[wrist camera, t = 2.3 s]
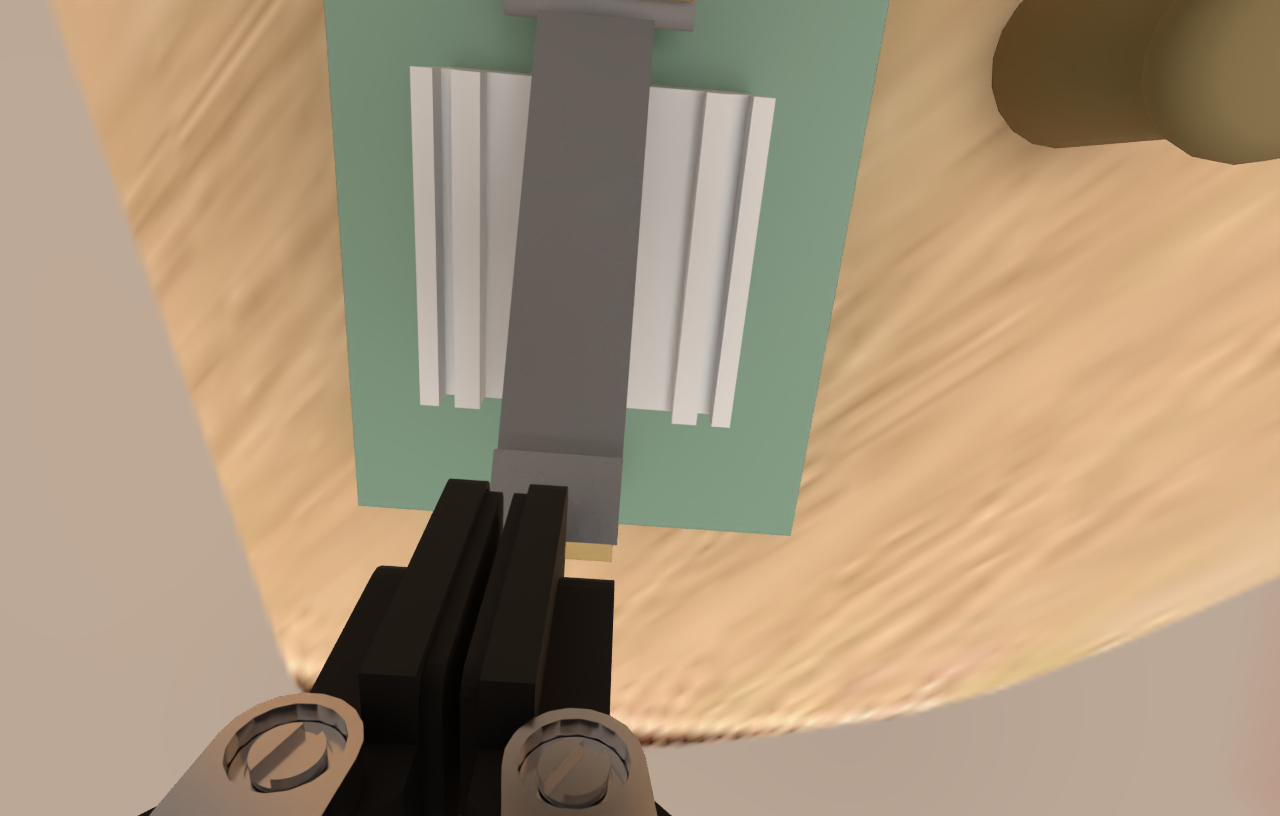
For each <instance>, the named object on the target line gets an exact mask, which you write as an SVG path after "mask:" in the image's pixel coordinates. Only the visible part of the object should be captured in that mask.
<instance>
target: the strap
mask: <svg viewBox="0 0 1280 816" xmlns="http://www.w3.org/2000/svg"><path fill="white" fill-rule="evenodd" d="M654 24H655V20H644V19H633V18H622V17H611V16H601V15H590V14H579V13H568V12H557V11H546V10H538V14H537V24H536V35H535V46H534V57H533V68H532V79H531V90H530V100H529V111H528V122H527V133H526V144H525V155H524V166H523V176H522V187H521V198H520V209H519V220H518V231H517V242H516V252H515V263H514V274H513V285H512V296H511V307H510V318H509V329H508V339H507V350H506V361H505V372H504V383H503V394H502V405H501V415H500V426H499V437H498V448H497V449H494V451H493V462H492V472H491V483H490V491H495V492H503V497H504V513H503V529H504V525H505V522H506V518H507V515H508V511H509V508H510V504H511V501H512V498H513V494H514V493H525V494H527V492H528V489H529V485H530V484H540V485H554V486H568V509H567V528H566V542H578V543H592V544H607V545H617V535H618V521H619V508H620V494H621V480H622V467H623V447H624V434H625V420H626V406H627V393H628V379H629V365H630V352H631V338H632V324H633V311H634V297H635V283H636V270H637V256H638V242H639V229H640V215H641V201H642V188H643V174H644V160H645V147H646V133H647V119H648V106H649V92H650V78H651V65H652V51H653V37H654Z"/></svg>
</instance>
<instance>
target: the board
mask: <svg viewBox="0 0 1280 816" xmlns="http://www.w3.org/2000/svg"><path fill="white" fill-rule="evenodd" d="M888 6H889V0H324V9H325V23H326V38H327V53H328V67H329V82H330V97H331V111H332V126H333V140H334V155H335V170H336V184H337V199H338V214H339V228H340V243H341V258H342V272H343V287H344V302H345V316H346V331H347V346H348V360H349V375H350V389H351V404H352V419H353V433H354V448H355V463H356V477H357V492H358V506H371V507H385V508H399V509H413V510H428V511H434V509H435V507H436V505H437V502H438V500H439V498H440V496H441V494H442V492H443V490H444V487H445V485H446V483H447V481H448V480H449V479H450V478H452V479H466V480H481V481H489V483H491V472H492V462H493V451H494V449H497V448H498V437H499V426H500V415H501V405H502V394H503V383H504V372H505V361H506V350H507V339H508V329H509V318H510V307H511V296H512V285H513V274H514V263H515V252H516V242H517V231H518V220H519V209H520V198H521V187H522V176H523V166H524V155H525V144H526V133H527V122H528V111H529V100H530V90H531V79H532V68H533V57H534V46H535V35H536V24H537V14H538V10H546V11H557V12H568V13H579V14H590V15H601V16H611V17H622V18H633V19H644V20H655V24H654V37H653V51H652V65H651V78H650V92H649V106H648V119H647V133H646V147H645V160H644V174H643V188H642V201H641V215H640V229H639V242H638V256H637V270H636V283H635V297H634V311H633V324H632V338H631V352H630V365H629V379H628V393H627V406H626V420H625V434H624V447H623V467H622V480H621V494H620V508H619V521H618V524H627V525H642V526H656V527H670V528H684V529H699V530H713V531H727V532H742V533H756V534H770V535H784V536H791V531H792V525H793V520H794V514H795V509H796V504H797V498H798V493H799V487H800V482H801V476H802V471H803V466H804V460H805V455H806V449H807V444H808V439H809V433H810V428H811V422H812V417H813V412H814V406H815V401H816V395H817V390H818V384H819V379H820V374H821V368H822V363H823V357H824V352H825V347H826V341H827V336H828V330H829V325H830V319H831V314H832V309H833V303H834V298H835V292H836V287H837V282H838V276H839V271H840V265H841V260H842V255H843V249H844V244H845V238H846V233H847V227H848V222H849V217H850V211H851V206H852V200H853V195H854V190H855V184H856V179H857V173H858V168H859V162H860V157H861V152H862V146H863V141H864V135H865V130H866V125H867V119H868V114H869V108H870V103H871V98H872V92H873V87H874V81H875V76H876V70H877V65H878V60H879V54H880V49H881V43H882V38H883V33H884V27H885V22H886V16H887V11H888Z"/></svg>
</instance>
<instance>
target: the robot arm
mask: <svg viewBox="0 0 1280 816" xmlns="http://www.w3.org/2000/svg"><path fill="white" fill-rule="evenodd" d="M567 509H568V486H554V485H540V484H530V485H529V489H528V492H527V494H525V493H514V494H513V498H512V501H511V504H510V508H509V511H508V515H507V518H506V522H505V525H504V529H503V513H504V497H503V492H495V491H490V483H489V481H481V480H466V479H452V478H450V479H449V480H448V481H447V483H446V485H445V487H444V490H443V492H442V494H441V496H440V498H439V500H438V502H437V505H436V507H435V509H434V511H433V513H432V515H431V518H430V520H429V522H428V524H427V526H426V528H425V530H424V533H423V535H422V537H421V539H420V541H419V543H418V546H417V548H416V550H415V552H414V554H413V556H412V558H411V561H410V563H409V565H408V567H397V566H379V567H377V568H376V570H375V571H374V573H373V574H372V576H371V578H370V580H369V582H368V584H367V585H366V587H365V589H364V591H363V593H362V595H361V597H360V599H359V601H358V602H357V604H356V606H355V608H354V610H353V612H352V614H351V616H350V618H349V619H348V621H347V623H346V625H345V627H344V629H343V631H342V633H341V635H340V636H339V638H338V640H337V642H336V644H335V646H334V648H333V650H332V652H331V654H330V655H329V657H328V659H327V661H326V663H325V665H324V667H323V669H322V671H321V672H320V674H319V676H318V678H317V680H316V682H315V684H314V686H313V688H312V689H311V691H310V693H298V694H292V695H286V696H280V697H277V698H274V699H271V700H269V701H266V702H263V703H260V704H258V705H256V706H254V707H252V708H251V709H249V710H247V711H246V712H244V713H242V714H240V715H239V716H237V717H236V718H235V719H233V720H232V721H231V722H230V723H229V724H228V725H227V726H226V727H225V728H224V729H223V730H221V731H220V733H218V735H217V736H216V737H215V738H214V739H213V740H212V742H211V743H210V744H209V745H208V747H207V748H206V749H205V750H204V751H203V752H202V754H201V755H200V756H199V757H198V758H197V759H196V761H195V762H194V763H193V764H192V765H191V767H190V768H189V769H188V770H187V771H186V772H185V774H184V775H183V776H182V777H181V778H180V780H179V781H178V782H177V783H176V784H175V785H174V787H173V788H172V789H171V791H169V793H168V794H167V795H166V796H165V798H163V800H162V801H161V802H160V803H159V804H158V806H156V807H154V808H152V809H150V810H148V811H147V812H144V813H143V814H140V815H138V816H671V815H670V814H669V813H668V812H667V811H666V810H664V809H663V808H662V807H661V806H660V805H659V804H657V803H656V802H655V801H654V797H653V792H652V787H651V782H650V777H649V772H648V767H647V762H646V758H645V754H644V752H643V750H642V747H641V745H640V742H639V740H638V739H637V737H636V736H635V735H634V734H633V733H632V732H631V731H630V730H629V728H628V727H627V726H626V725H624V724H623V723H621V722H619V721H618V720H616V719H615V718H613V717H611V716H610V692H611V665H612V638H613V611H614V580H600V579H584V578H569V577H564V566H565V547H566V528H567Z"/></svg>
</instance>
